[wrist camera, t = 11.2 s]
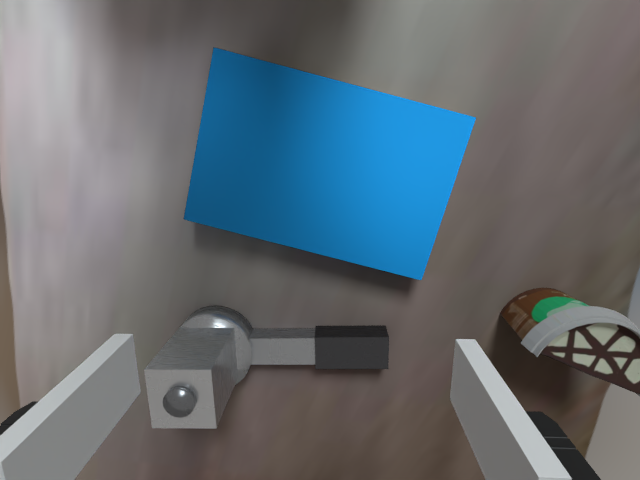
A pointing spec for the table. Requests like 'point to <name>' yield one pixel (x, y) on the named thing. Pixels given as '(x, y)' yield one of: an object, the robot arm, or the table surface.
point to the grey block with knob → (192, 378)
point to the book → (323, 164)
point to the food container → (577, 335)
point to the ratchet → (298, 343)
